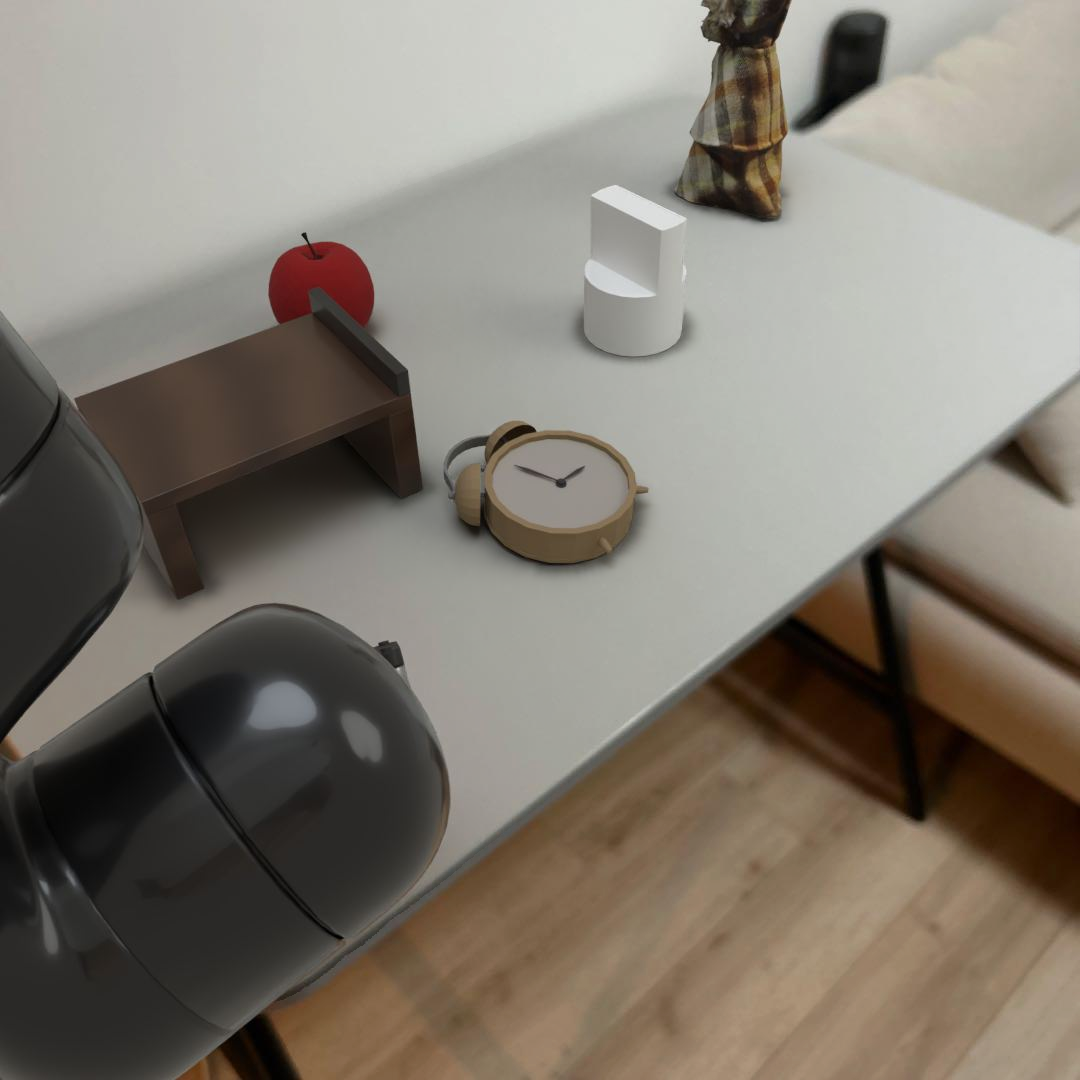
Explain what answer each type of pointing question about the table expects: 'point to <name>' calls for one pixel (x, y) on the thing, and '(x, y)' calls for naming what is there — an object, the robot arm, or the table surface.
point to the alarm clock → (547, 492)
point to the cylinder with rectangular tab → (634, 274)
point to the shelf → (253, 419)
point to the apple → (320, 281)
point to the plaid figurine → (740, 112)
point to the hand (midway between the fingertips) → (255, 699)
